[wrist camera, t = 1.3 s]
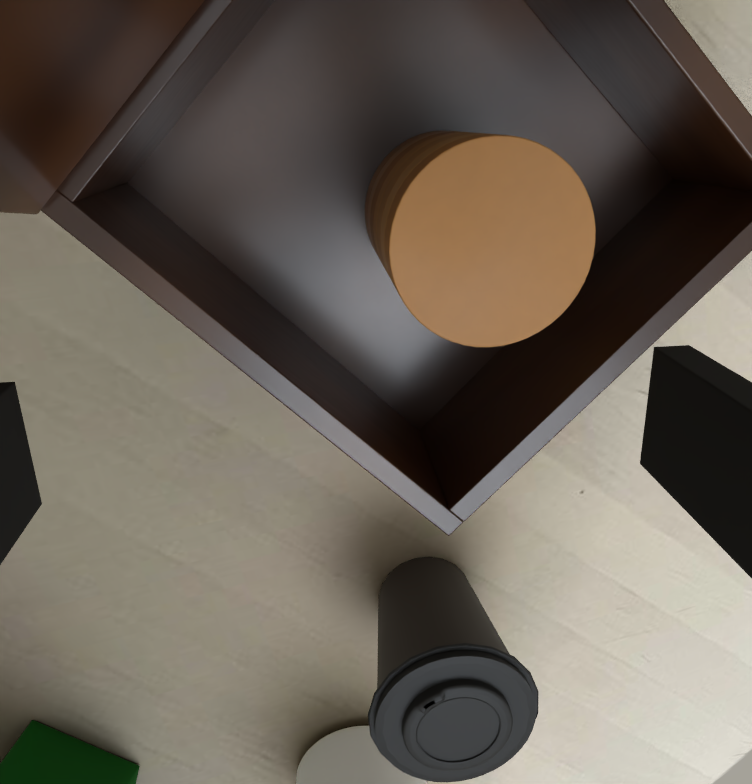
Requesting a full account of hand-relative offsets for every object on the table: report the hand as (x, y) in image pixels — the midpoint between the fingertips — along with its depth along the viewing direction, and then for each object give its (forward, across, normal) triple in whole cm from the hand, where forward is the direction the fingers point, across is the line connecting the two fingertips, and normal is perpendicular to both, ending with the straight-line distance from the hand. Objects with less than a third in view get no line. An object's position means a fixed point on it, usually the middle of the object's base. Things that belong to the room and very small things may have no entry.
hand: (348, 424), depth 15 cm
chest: (+20, +4, +3) cm, 21 cm away
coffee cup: (+20, +5, -20) cm, 29 cm away
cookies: (+20, +5, +2) cm, 20 cm away
